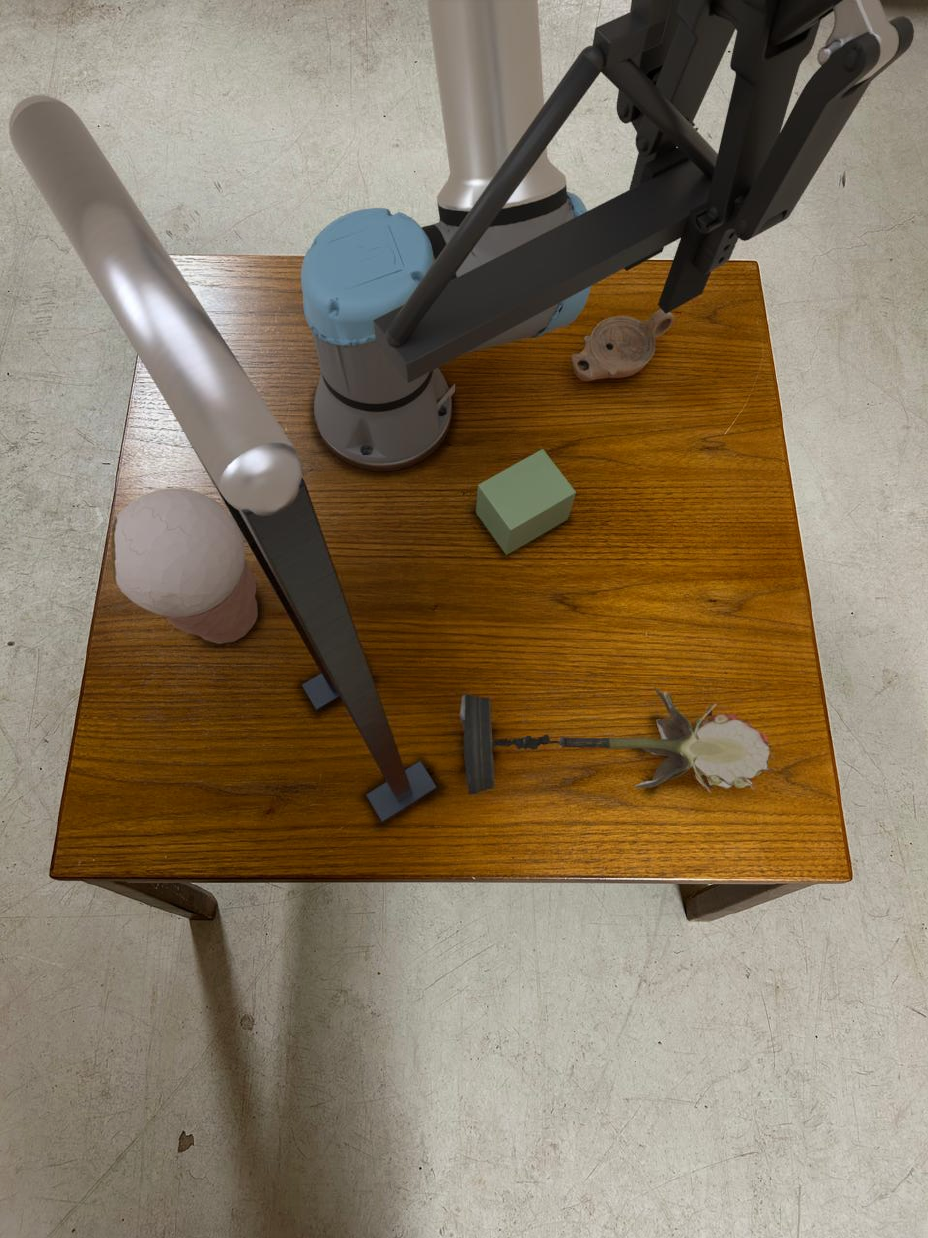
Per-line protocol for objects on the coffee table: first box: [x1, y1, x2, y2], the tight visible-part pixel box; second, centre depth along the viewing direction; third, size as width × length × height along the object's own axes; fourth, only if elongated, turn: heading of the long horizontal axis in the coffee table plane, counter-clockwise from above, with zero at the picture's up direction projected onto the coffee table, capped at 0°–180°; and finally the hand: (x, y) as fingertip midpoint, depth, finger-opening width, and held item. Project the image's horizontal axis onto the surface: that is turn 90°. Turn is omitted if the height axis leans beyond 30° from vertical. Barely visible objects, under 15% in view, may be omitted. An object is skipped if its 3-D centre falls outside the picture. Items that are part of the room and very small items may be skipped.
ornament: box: [458, 685, 775, 795], centre depth 71 cm, size 28×10×9 cm, turn 91°
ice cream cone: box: [110, 488, 259, 645], centre depth 70 cm, size 11×11×20 cm
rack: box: [8, 94, 438, 824], centre depth 47 cm, size 16×6×60 cm, turn 33°
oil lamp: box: [570, 308, 675, 382], centre depth 89 cm, size 13×8×5 cm, turn 118°
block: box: [475, 448, 577, 556], centre depth 81 cm, size 6×8×6 cm
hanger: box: [373, 0, 718, 383], centre depth 30 cm, size 20×3×20 cm, turn 123°
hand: (660, 277), depth 45 cm, fingers closed on hanger, 3 cm apart
